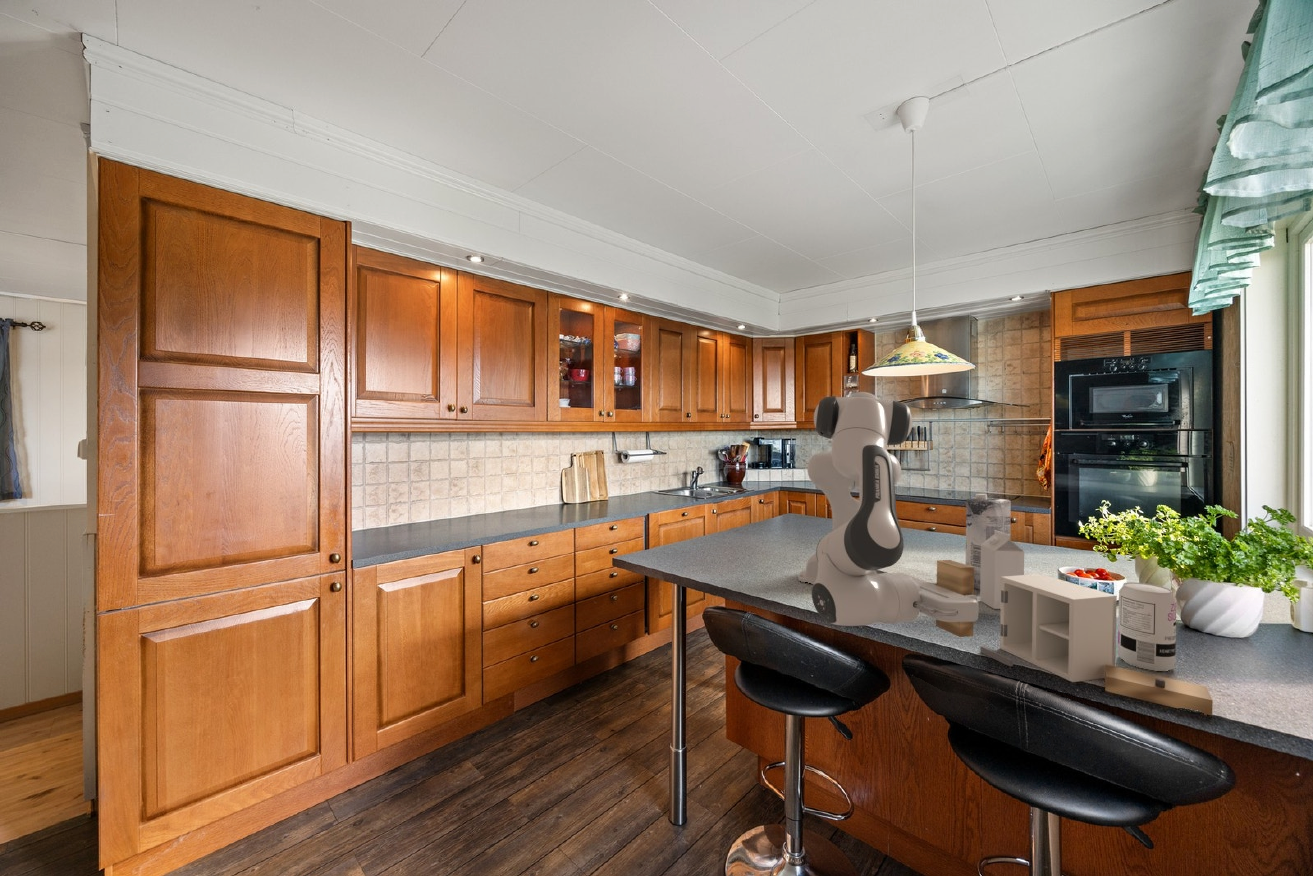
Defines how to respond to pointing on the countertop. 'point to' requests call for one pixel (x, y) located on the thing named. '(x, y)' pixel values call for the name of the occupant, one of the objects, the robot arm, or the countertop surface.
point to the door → (1158, 689)
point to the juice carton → (984, 527)
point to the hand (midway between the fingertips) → (958, 593)
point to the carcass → (1057, 626)
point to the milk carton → (998, 566)
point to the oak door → (960, 582)
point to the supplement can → (1147, 626)
